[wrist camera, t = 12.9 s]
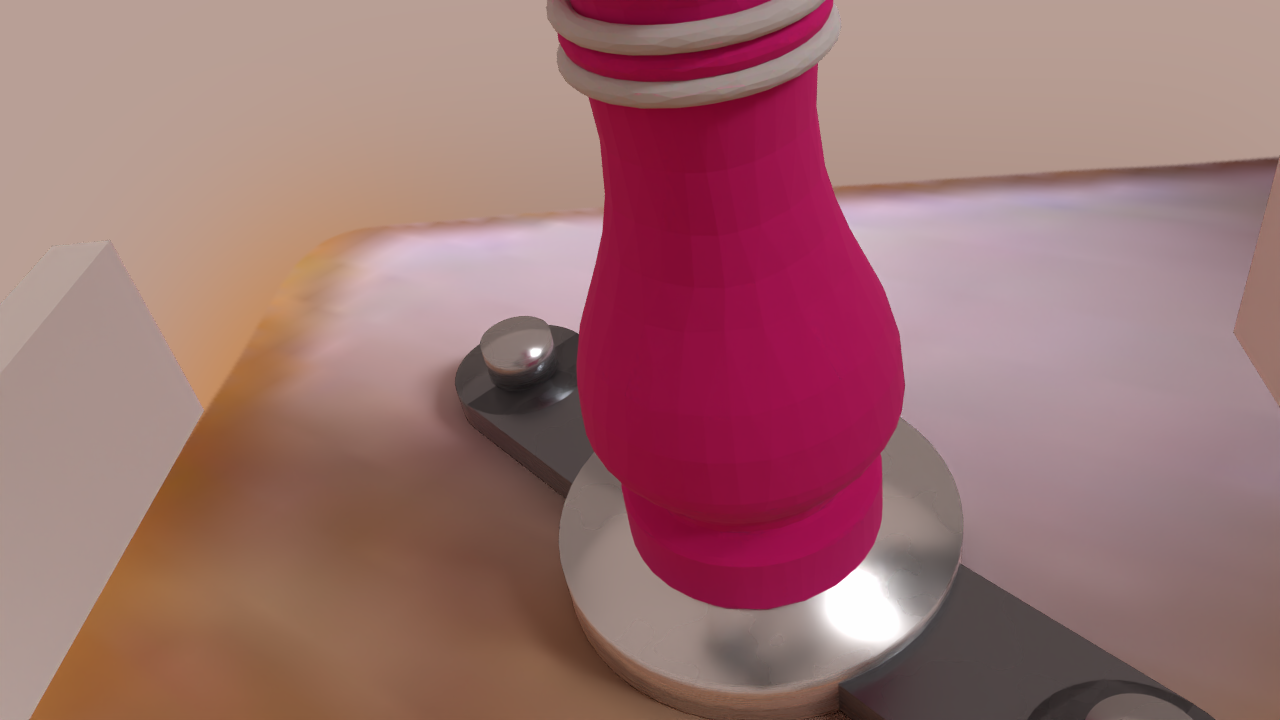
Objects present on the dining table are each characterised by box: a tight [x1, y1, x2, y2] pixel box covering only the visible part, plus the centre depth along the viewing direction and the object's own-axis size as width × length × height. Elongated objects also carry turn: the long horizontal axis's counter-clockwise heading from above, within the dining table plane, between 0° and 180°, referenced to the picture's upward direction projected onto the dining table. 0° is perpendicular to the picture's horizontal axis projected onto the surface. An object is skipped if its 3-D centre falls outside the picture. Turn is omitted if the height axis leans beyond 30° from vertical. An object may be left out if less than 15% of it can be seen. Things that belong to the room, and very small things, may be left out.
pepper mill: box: [546, 0, 905, 609], centre depth 20 cm, size 7×7×20 cm
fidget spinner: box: [455, 316, 1215, 720], centre depth 26 cm, size 24×10×2 cm, turn 42°
